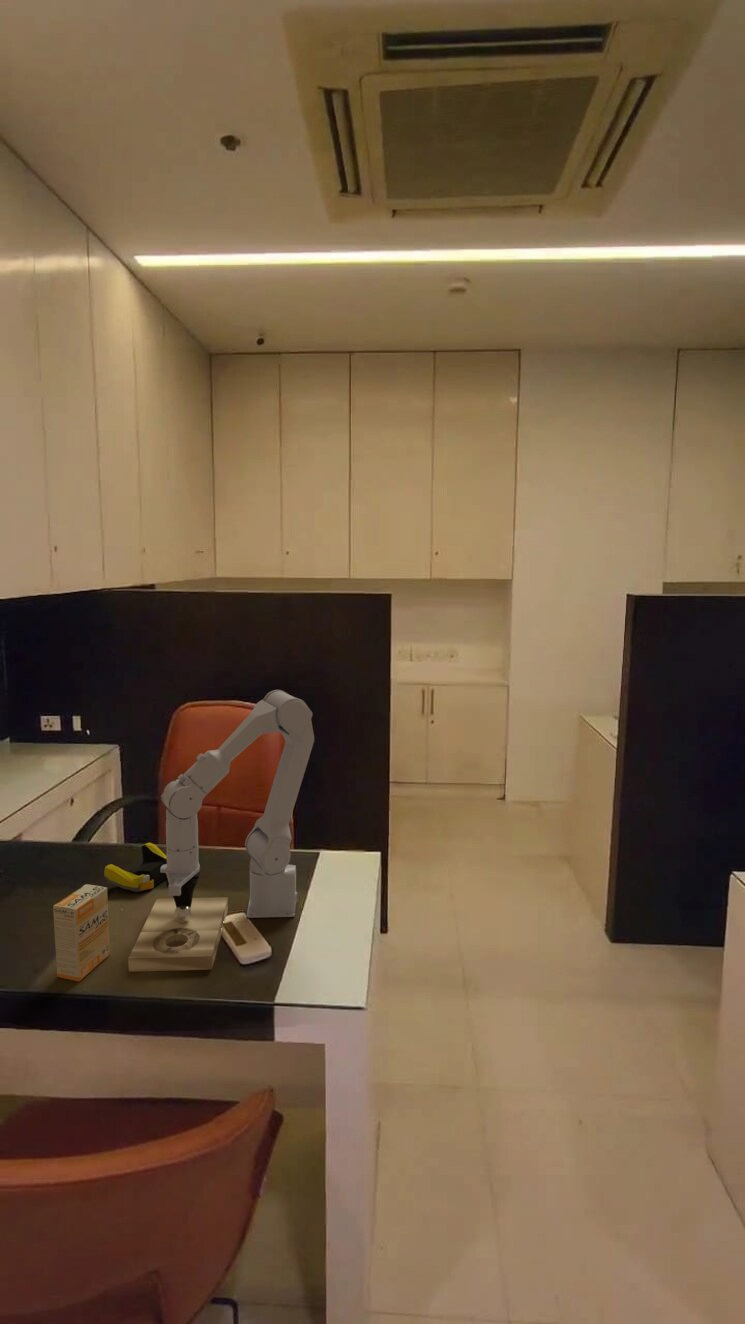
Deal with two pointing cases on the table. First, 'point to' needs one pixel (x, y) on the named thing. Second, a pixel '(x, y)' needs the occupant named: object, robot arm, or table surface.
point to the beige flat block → (179, 937)
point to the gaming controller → (140, 871)
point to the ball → (182, 913)
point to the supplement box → (81, 931)
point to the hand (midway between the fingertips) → (183, 912)
